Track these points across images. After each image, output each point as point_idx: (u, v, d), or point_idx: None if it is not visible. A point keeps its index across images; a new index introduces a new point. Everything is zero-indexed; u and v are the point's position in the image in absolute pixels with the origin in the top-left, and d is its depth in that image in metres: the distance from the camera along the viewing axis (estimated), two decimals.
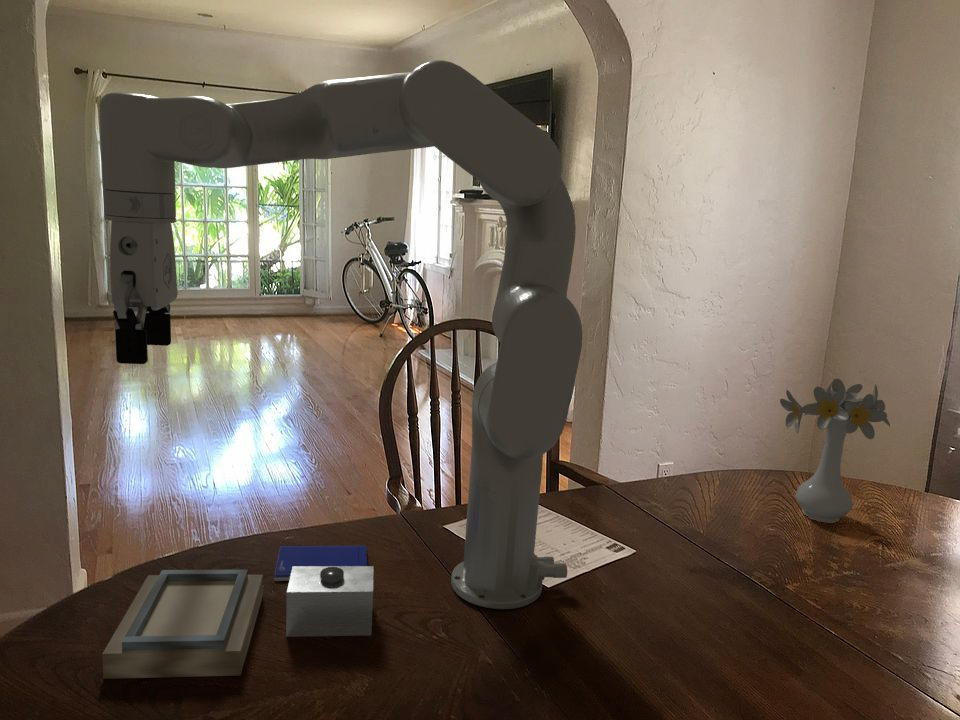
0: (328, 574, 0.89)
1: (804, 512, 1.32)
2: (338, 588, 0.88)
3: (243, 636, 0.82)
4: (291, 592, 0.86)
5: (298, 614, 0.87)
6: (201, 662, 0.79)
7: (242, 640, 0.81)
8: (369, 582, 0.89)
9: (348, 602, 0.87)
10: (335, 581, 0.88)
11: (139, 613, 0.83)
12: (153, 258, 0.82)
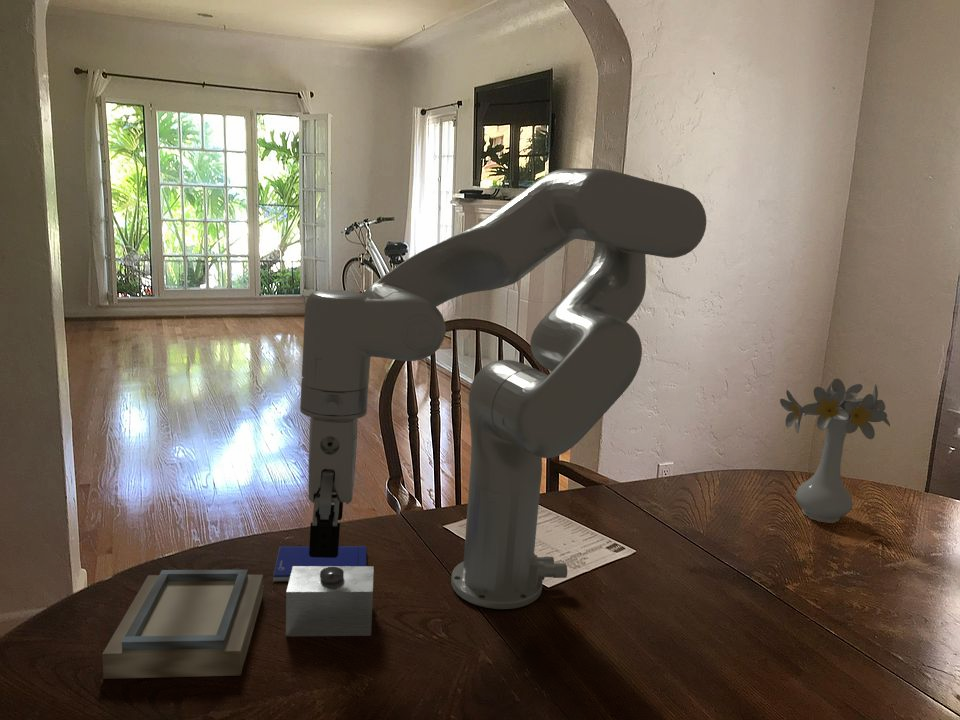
0: (328, 574, 0.89)
1: (804, 512, 1.32)
2: (338, 588, 0.88)
3: (243, 636, 0.82)
4: (291, 592, 0.86)
5: (298, 614, 0.87)
6: (201, 662, 0.79)
7: (242, 640, 0.81)
8: (369, 582, 0.89)
9: (347, 602, 0.87)
10: (335, 581, 0.88)
11: (139, 613, 0.83)
12: (352, 455, 0.82)
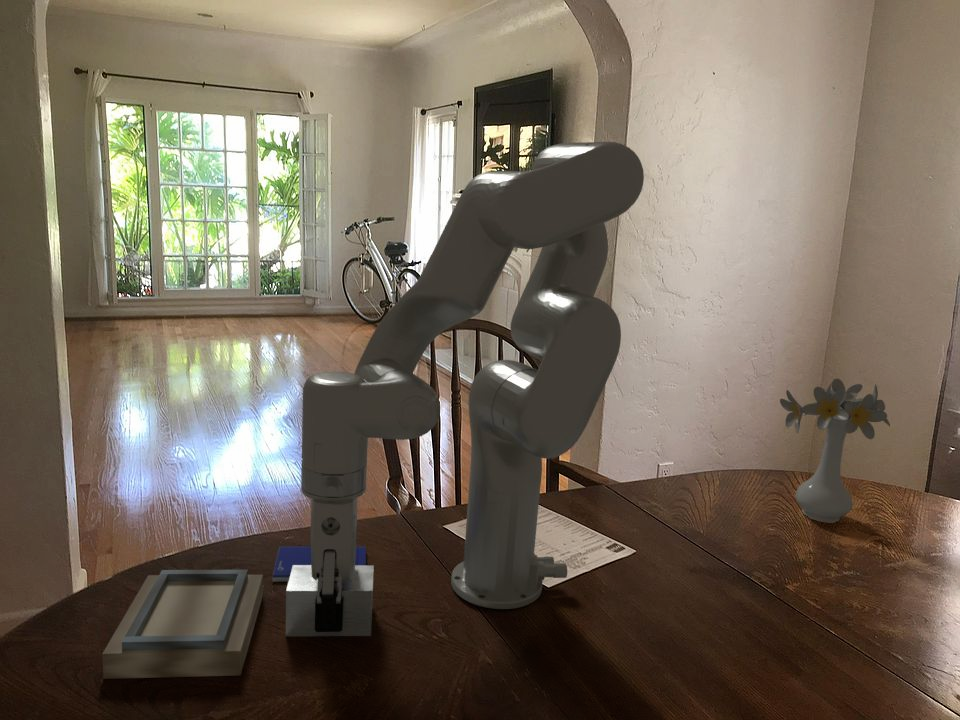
0: None
1: (804, 512, 1.32)
2: None
3: (243, 636, 0.82)
4: (290, 591, 0.86)
5: (298, 613, 0.87)
6: (201, 662, 0.79)
7: (242, 640, 0.81)
8: (369, 581, 0.89)
9: (347, 601, 0.87)
10: None
11: (139, 613, 0.83)
12: (352, 534, 0.84)
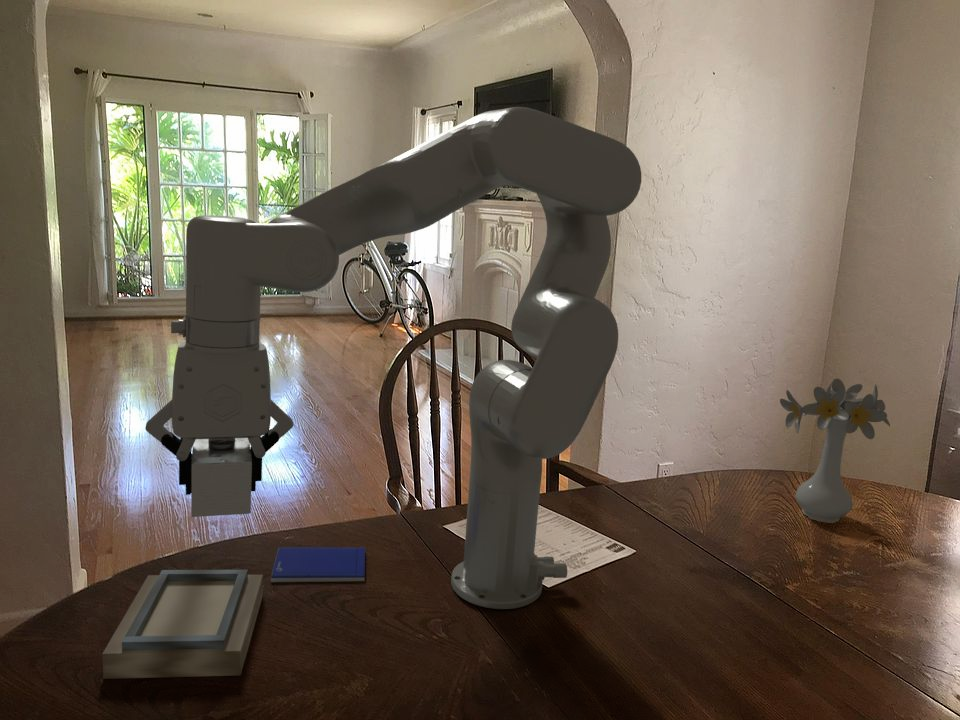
0: None
1: (804, 512, 1.32)
2: (200, 450, 0.81)
3: (243, 636, 0.82)
4: None
5: None
6: (201, 662, 0.79)
7: (242, 640, 0.81)
8: (212, 461, 0.78)
9: None
10: (209, 445, 0.81)
11: (139, 613, 0.83)
12: (179, 384, 0.77)
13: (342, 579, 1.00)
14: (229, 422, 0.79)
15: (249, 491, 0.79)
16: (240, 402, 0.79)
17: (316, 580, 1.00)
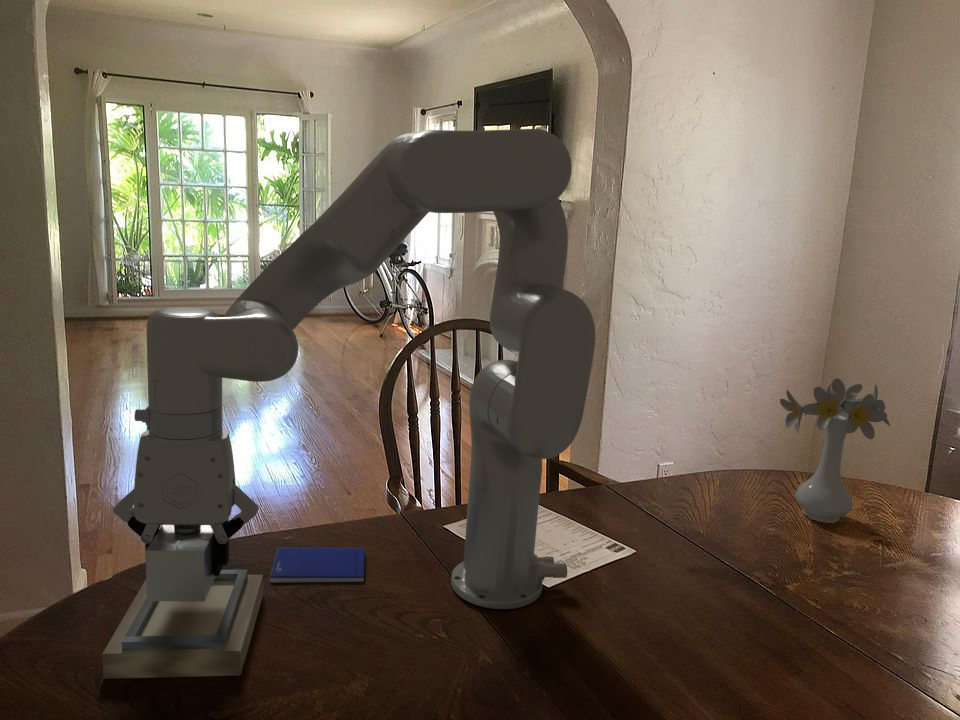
0: None
1: (804, 512, 1.32)
2: (164, 533, 0.82)
3: (243, 636, 0.82)
4: None
5: None
6: (201, 662, 0.79)
7: (242, 640, 0.81)
8: (166, 549, 0.79)
9: None
10: (174, 528, 0.83)
11: (139, 613, 0.83)
12: (138, 472, 0.79)
13: (341, 579, 1.00)
14: (187, 510, 0.80)
15: (202, 580, 0.80)
16: (197, 491, 0.80)
17: (315, 581, 1.00)
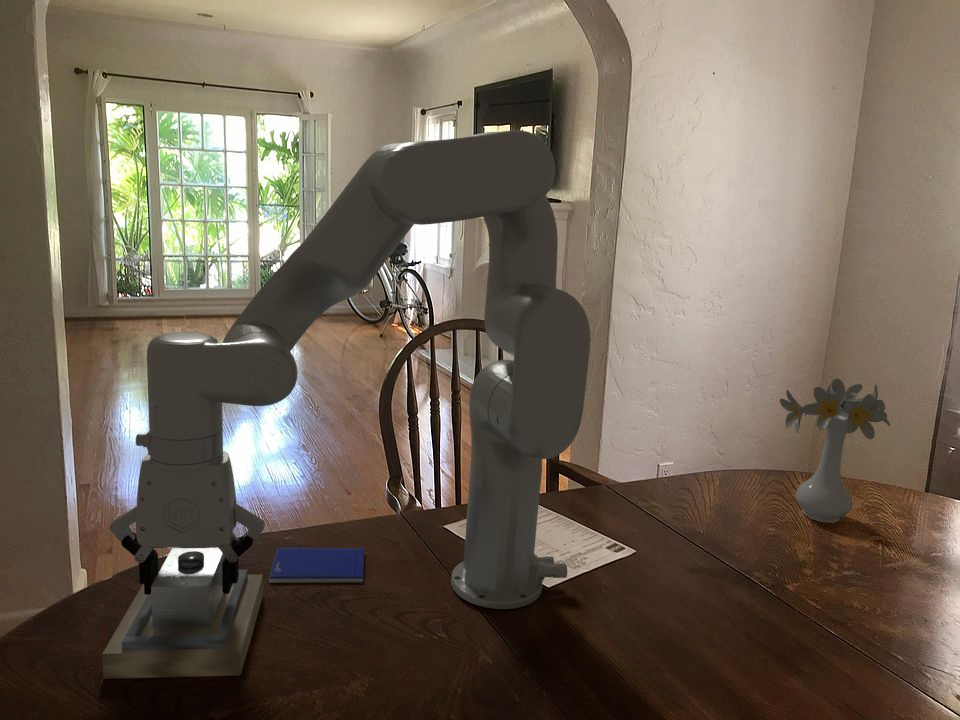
0: (188, 555, 0.85)
1: (804, 512, 1.32)
2: (168, 567, 0.83)
3: (243, 636, 0.82)
4: None
5: None
6: (201, 662, 0.79)
7: (242, 640, 0.81)
8: (171, 584, 0.80)
9: None
10: (178, 562, 0.84)
11: (139, 613, 0.83)
12: (140, 497, 0.80)
13: (340, 580, 1.00)
14: (189, 533, 0.81)
15: (207, 614, 0.81)
16: (199, 515, 0.81)
17: (314, 581, 0.99)
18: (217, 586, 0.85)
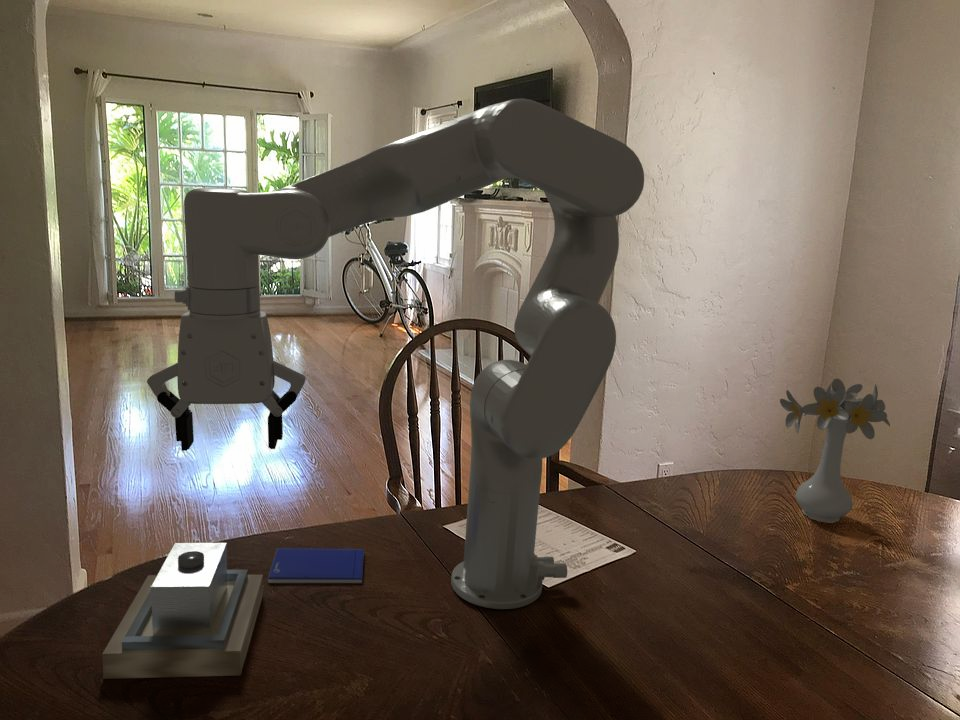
0: (188, 555, 0.85)
1: (804, 512, 1.32)
2: (168, 567, 0.83)
3: (243, 636, 0.82)
4: (174, 545, 0.89)
5: None
6: (201, 662, 0.79)
7: (242, 640, 0.81)
8: (171, 584, 0.80)
9: None
10: (178, 562, 0.84)
11: (139, 613, 0.83)
12: (181, 351, 0.81)
13: (339, 581, 1.00)
14: (230, 388, 0.82)
15: (207, 614, 0.81)
16: (239, 368, 0.82)
17: (313, 582, 0.99)
18: (217, 586, 0.85)
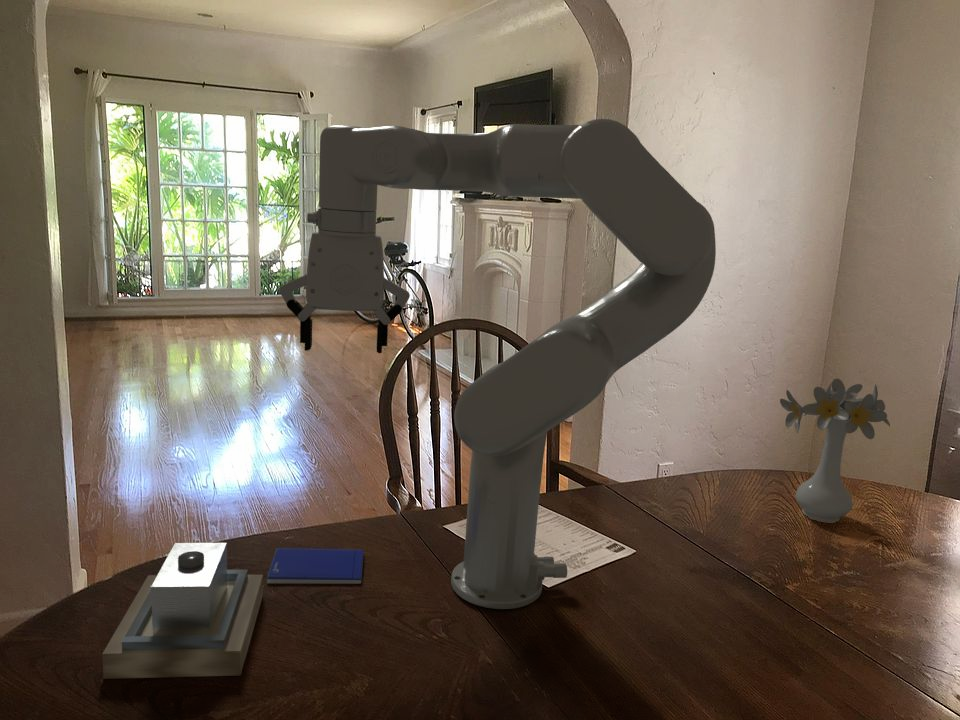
0: (188, 555, 0.85)
1: (804, 512, 1.32)
2: (168, 567, 0.83)
3: (243, 636, 0.82)
4: (174, 545, 0.89)
5: None
6: (201, 662, 0.79)
7: (242, 640, 0.81)
8: (171, 584, 0.80)
9: None
10: (178, 562, 0.84)
11: (139, 613, 0.83)
12: (311, 263, 0.96)
13: (338, 581, 1.00)
14: (350, 296, 0.97)
15: (207, 614, 0.81)
16: (358, 280, 0.97)
17: (312, 582, 0.99)
18: (217, 586, 0.85)
